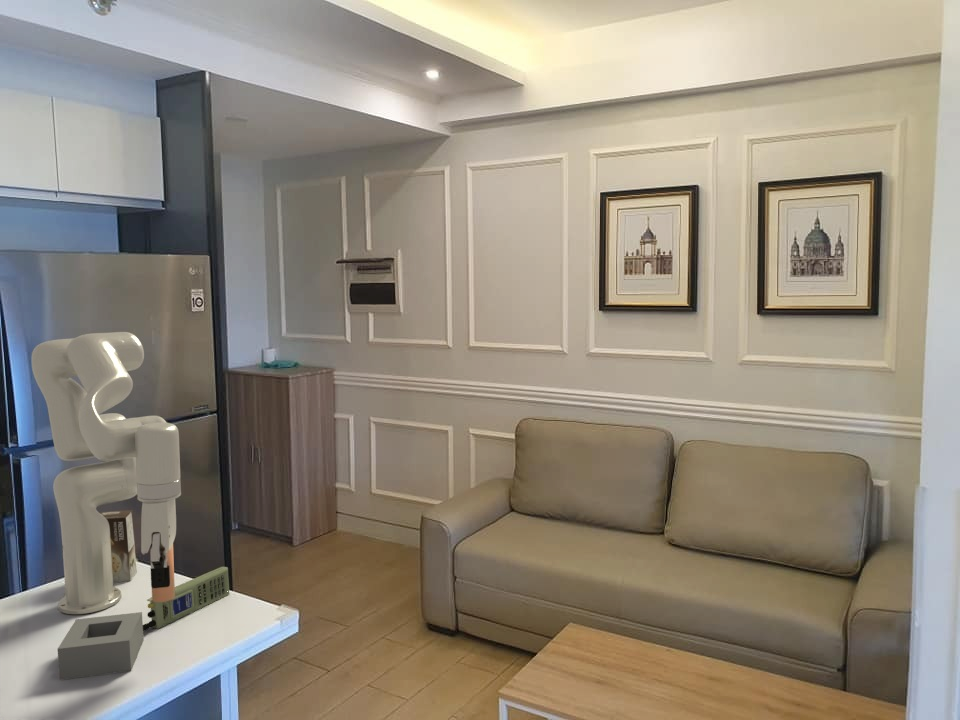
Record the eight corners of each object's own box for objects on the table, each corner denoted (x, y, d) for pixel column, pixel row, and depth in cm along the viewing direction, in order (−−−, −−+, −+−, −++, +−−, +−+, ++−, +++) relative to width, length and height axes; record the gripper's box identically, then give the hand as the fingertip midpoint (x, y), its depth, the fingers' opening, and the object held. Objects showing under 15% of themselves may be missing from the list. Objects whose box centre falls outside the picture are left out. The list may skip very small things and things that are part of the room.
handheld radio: (232, 595, 168) (135, 642, 146) (222, 593, 169) (125, 638, 148) (230, 567, 167) (133, 610, 145) (220, 565, 169) (122, 607, 147)
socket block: (78, 648, 143) (76, 619, 142) (143, 640, 146) (141, 612, 146) (59, 680, 132) (57, 648, 131) (131, 670, 135) (129, 640, 134)
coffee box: (137, 571, 182) (134, 509, 180) (130, 581, 175) (127, 517, 174) (98, 574, 180) (94, 511, 178) (89, 584, 173) (85, 519, 172)
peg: (154, 594, 140) (151, 534, 138) (176, 592, 141) (174, 532, 139) (150, 603, 136) (147, 542, 134) (173, 601, 137) (170, 540, 135)
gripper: (145, 477, 143) (149, 566, 145) (128, 504, 127) (132, 603, 129) (186, 475, 145) (189, 562, 147) (173, 501, 129) (177, 599, 131)
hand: (162, 580), depth 138 cm, fingers closed on peg, 4 cm apart
